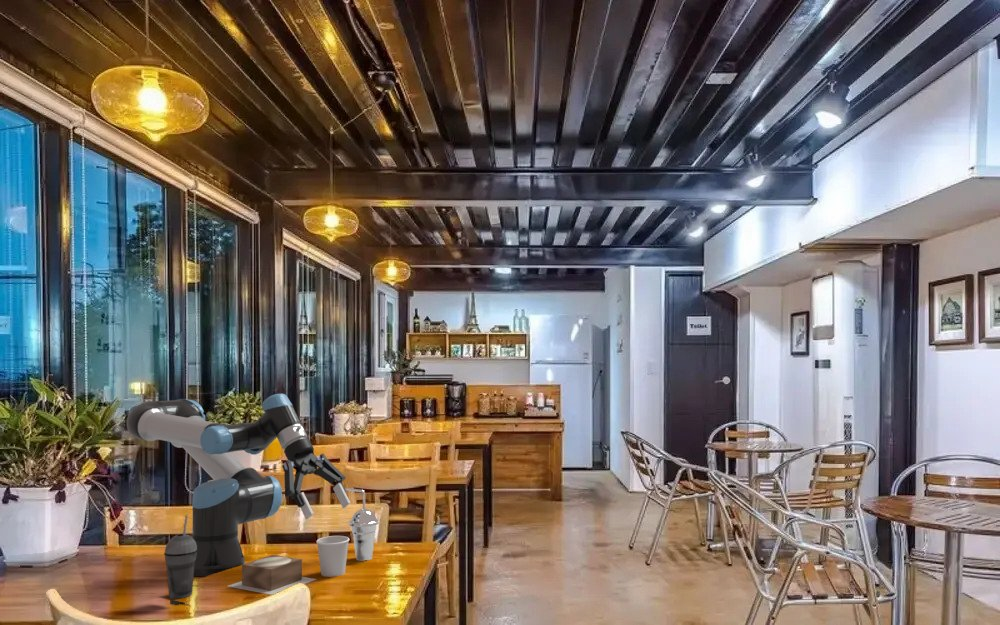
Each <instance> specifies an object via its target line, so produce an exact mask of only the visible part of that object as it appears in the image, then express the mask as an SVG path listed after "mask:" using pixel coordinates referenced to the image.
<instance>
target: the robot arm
mask: <svg viewBox="0 0 1000 625" xmlns="http://www.w3.org/2000/svg"><path fill="white" fill-rule="evenodd" d="M261 407H262V411H263V412H264V413H263V414H262V415H261V416H260V417H259V418H258V419H257V420H256V421H253V422H252V421H251V422H244V423H243V422H242V423H233V424H224V423H217V422H213V421H207V420H206V414H204V413H205V411H204V409H203V407H202V405H201V404H200V403H199V402H197V401H196V400H194V399H186V398H185V399H184V398H179V399H174V400H173V399H172V400H171V399H169V400H156V401H146V402H142V403H140V404H138V405H135V407H133V408H132V409H131V410H130V412H129V413H128V416H127V418H126V428H127V430H128V432H129V434H130V436H132V437H134V438H135V439H138V440H142V441H146V442H154V441H157V440H159V441H164V442H169V443H170V444H171V445H172V446H174V447H175V448H179V449H180V448H182V449H184V450H185V451H186V453H187V454H189V455H190V457H191V458H192V459H193V460H194V461H195V462H196V463H197V464H198V465H199V466H200V467H201V468H202V469H203V470H204V471H205V472H206V473H207V474H208V475H209V476H210V478H212V480H209V481H206V482H203V483H201V484H199V485H198V486H196V487H195V488H194V490H193V492H192V501H191V506H192V531H191V532H192V533H191V534H192V536H191V537H192V538H193V539H194V540H195V542H196V545H197V550H198V551H197V555H196V559H195V567H194V577H208V576H212V575H214V574H218V573H221V572H224V571H228V570H230V569H231V570H232V569H234V568H237V567H242V564H245V555H244V553H243V549H242V546H241V543H240V540H239V525H242V524H245V523H246V524H247V523H250V522H254V521H257V520H265V519H267V518H269V517H272V516H274V515H275V514H276V513H277V512H278V510H280V508H281V505H282V501H283V490H282V485H281V484H280V482H279V480H278V479H277V478H276V477H274V476H271V475H265V476H262V475H261V473H259V472H258V471H257V470H256V469H255V468H254V467H249V466H248V467H245V465H243V463H241V461H240V460H238V459H237V458H236V457H235V456H234V455H233V454H232V453H233V452H239V451H244V452H245V453H247V454H251V455H255V456H256V455H259V454H260V453H261V452H263V451H264V450H266V449H267V448H268V447H269V446H270V445H271V444H272V443H273V442H274V441H275V440H276V439H277V441H278V442H279V445H280V446H281V449H282V450H284V451H283V452H284V455H285V457H286V459H287V460H286V461H285V462H284V463H283V464H282V466H281V467H282V470H283V473H284V476H283V477H284V495H285V497H286V498H287V497H289V498H290V499H291V500H293V499H294V501H295V504H296V506H297V507H298V508H300V510H301V512H302V514H303V515H304V518H305V520H308V519H310V518H311V517H312V516H313V515H314V514H315V513H314V511H313V509H312V507H311V505H310V503H309V501H308V499H307V497H306V495H305V492H304V491H303V492H301V489H302V485H303V481H304V477H305V476H307V475H316V476H319V477H320V478H322V479H324V481H326V482H328V483H330V485H332V486H334V487H332V489H333V491H334V493H335V495H336V497H337V499H338V501H339V503H340V505H341V507H342V509H345V508H346V507H348V506H349V505H350V504H351V501H350V499H349V497H348V495H347V490H345V489H346V487H345V486H344V485H343V481H344V480H346V476H345V475H344V474H343V473H342V472H341V471H340V470H339V469H338V468H337V467H336V466H335V464H333V463H332V462H331V461H330V460H329V459H328V458H327V456H326V454H325V453H323V452H322V453H321V454H319V455H318V456H317V455H315V453H314V452H315V451H314V449H315V448H314V446H313V444H312V442H311V440H310V439H309V438H308V437H309V436H308V435H307V432H306V430H305V429H304V427H303V426H304V425H302V422H301V421H300V418H299V417H298V415H297V412H296V410H295V407H294V405H293V403H292V402H291V401H290V399H289V397H288V396H287V395H286V394H285V393H276V394H272V395H270V396H268V397H266V398H265V399H264V400H263V402H262V405H261ZM294 470H295V474H294Z"/></svg>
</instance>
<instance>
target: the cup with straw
mask: <svg viewBox="0 0 1000 625" xmlns="http://www.w3.org/2000/svg"><path fill="white" fill-rule="evenodd" d="M345 490H346V492H347V491H349V492H356V493H362V509H361V508H359V509H358V510H357V511H355V512H354V513H353V515H352V518H351V520H349V521H348V522H349V523H348V526H349V527H350V528H351V532H352V536H353V537H352V538H353V545H354V553H355V560H356V561H361V562H366V561H365V560H367V561H370V560H372V559H373V553H374V545H375V535H376V532H377V531H376V530H377V525H379V524H380V521H379V519H378V518H377V516H376V514H375V512H373V511H372V510H371V509H368V508H366V492H365V490H363V489H359V488H350V487H345Z"/></svg>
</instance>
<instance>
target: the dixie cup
mask: <svg viewBox="0 0 1000 625" xmlns="http://www.w3.org/2000/svg"><path fill="white" fill-rule="evenodd" d="M349 541H350V538H349V537H348V536H344V535H329V536H324V537H320V538H318V539H317V540H316V541H315V543H316V544H317V553H318V560H319V567H320V568H319V569H320V574H321V576H322V577H329V578H330V577H331V578H332V577H339V576H342V575H344V574H345V573H346V567H347V559H348V558H347V556H348V550H349Z"/></svg>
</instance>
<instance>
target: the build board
mask: <svg viewBox="0 0 1000 625" xmlns="http://www.w3.org/2000/svg"><path fill="white" fill-rule="evenodd" d="M316 580H317V579H316V578H311V577H305V576H302V580H300V581H297V582H295V583H292V584H289V585H286V586H284V587H281V588H278V589H275V590H273V591H269V590H264V589H258V588H253V587H248V586H242V580H241V581H238V582H235V583H232V584H229V585H227V587H229V588H235V589H239V590H245V591H250V592H254V593H255V592H256V593H261V594H266V595H271V596H274V595H273V594H275V593H277V592H279V591H282V590H284V589H286V588H288V587H290V586H293V585H295V584H298V583H303V585H306V584H308V583H311V582H314V581H316Z"/></svg>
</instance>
